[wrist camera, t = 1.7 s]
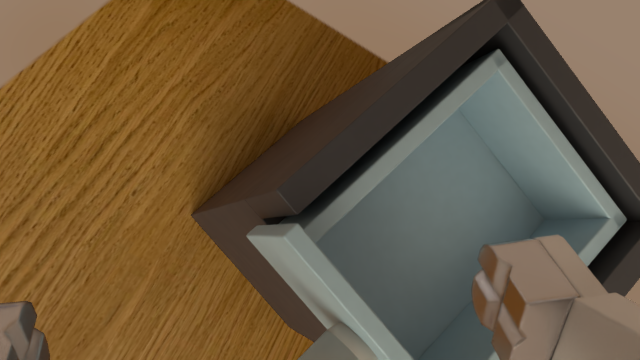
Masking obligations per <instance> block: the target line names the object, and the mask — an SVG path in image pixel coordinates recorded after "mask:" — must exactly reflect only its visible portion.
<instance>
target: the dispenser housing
mask: <svg viewBox="0 0 640 360" xmlns="http://www.w3.org/2000/svg"><path fill="white" fill-rule="evenodd" d="M496 49H500V51H501V52H502V53H503V55H504V56H505V57H506V59H507V60H508V61H509V63H510V64H511V65H512V67H513V68H514V69H515V71H516V72H517V73H518V75H519V76H520V77H521V79H522V80H523V81H524V83H525V84H526V85H527V87H528V88H529V89H530V91H531V92H532V93H533V95H534V96H535V97H536V99H537V100H538V101H539V103H540V104H541V105H542V107H543V108H544V109H545V111H546V112H547V113H548V115H549V116H550V117H551V119H552V120H553V121H554V123H555V124H556V125H557V127H558V128H559V129H560V131H561V132H562V133H563V135H564V136H565V137H566V139H567V140H568V141H569V143H570V144H571V145H572V147H573V148H574V149H575V151H576V152H577V153H578V155H579V156H580V157H581V159H582V160H583V161H584V163H585V164H586V165H587V167H588V168H589V169H590V171H591V172H592V173H593V175H594V176H595V177H596V179H597V180H598V181H599V183H600V184H601V185H602V186H603V188H604V189H605V190H606V192H607V193H608V194H609V196H610V197H611V198H612V200H613V201H614V202H615V204H616V205H617V206H618V208H619V209H620V210H621V212H622V213H623V214H624V216H625V217H626V219H627V220H626V222H625V223H624V224H623V225H622V226H621V228H620V229H619V230H618V231H617V232H616V233H615V235H614V236H613V237H612V238H611V239H610V241H609V242H608V243H607V244H606V245H605V246H604V248H603V249H602V250H601V251H600V252H599V253H598V255H597V256H596V257H595V258H594V259H593V261H592V262H591V263H590V264H589V265H588V266H587V267H588V269H589V270H590V271H591V272H592V274H593V275H594V276H595V277H596V278H597V280H598V281H599V282H600V283H601V285H602V286H603V287H604V288H605V290H606V291H607V292H608V293H618V294H620V295H622V296H623V297H625V296H626V294H627V293H628V292H629V291H630V289H631V288H632V287H633V286H634V285H635V283H636V282H637V281H638V280H639V278H640V163H639V161H638V160H637V159H636V157H635V156H634V154H633V153H632V152H631V151H630V149H629V148H628V146H627V145H626V144H625V142H624V141H623V139H622V138H621V137H620V136H619V134H618V133H617V131H616V130H615V129H614V127H613V126H612V124H611V123H610V122H609V120H608V119H607V118H606V116H605V115H604V114H603V112H602V111H601V109H600V108H599V107H598V106H597V104H596V103H595V101H594V100H593V99H592V97H591V96H590V94H589V93H588V92H587V90H586V89H585V88H584V86H583V85H582V84H581V82H580V81H579V80H578V78H577V77H576V75H575V74H574V73H573V72H572V70H571V69H570V67H569V66H568V65H567V63H566V62H565V61H564V59H563V58H562V56H561V55H560V54H559V52H558V51H557V50H556V48H555V47H554V45H553V44H552V43H551V41H550V40H549V39H548V37H547V36H546V35H545V33H544V32H543V30H542V29H541V28H540V26H539V25H538V24H537V22H536V21H535V20H534V18H533V17H532V16H531V14H530V13H529V12H528V10H527V9H526V8H525V6H524V4H523V3H522V2H521V0H483V1H482V2H480V3H479V4H477V5H476V6H474V7H473V8H471V9H470V10H468V11H467V12H465V13H464V14H462V15H461V16H459V17H458V18H456V19H455V20H453V21H451V22H450V23H449V24H447V25H445V26H444V27H442V28H441V29H440V30H438V31H437V32H435V33H433V34H432V35H430V36H429V37H427V38H426V39H424V40H423V41H421V42H420V43H418V44H417V45H415V46H414V47H412V48H411V49H409V50H408V51H406V52H405V53H403V54H401V55H400V56H398V57H397V58H395V59H394V60H392V61H391V62H389V63H388V64H386V65H385V66H383V67H382V68H380V69H379V70H377V71H376V72H374V73H373V74H371V75H370V76H368V77H367V78H365V79H364V80H362V81H361V82H359V83H358V84H356V85H354V86H353V87H351V88H350V89H348V90H347V91H345V92H344V93H342V94H341V95H339V96H338V97H336V98H335V99H333V100H332V101H330V102H329V103H327V104H326V105H324V106H323V107H321V108H320V109H318V110H317V111H315V112H314V113H312V114H311V115H309V116H308V117H306V118H304V119H303V120H302V121H300V122H299V123H298V124H297V125H296V126H294V127H293V128H292V129H291V130H290V131H289V132H287V133H286V134H285V135H284V136H283V137H282V138H280V139H279V140H278V141H277V142H276V143H275V144H273V145H272V146H271V147H270V148H269V149H268V150H266V151H265V152H264V153H263V154H262V155H261V156H259V157H258V158H257V159H256V160H255V161H253V162H252V163H251V164H250V165H249V166H248V167H246V168H245V169H244V170H243V171H242V172H241V173H239V174H238V175H237V176H236V177H235V178H234V179H232V180H231V181H230V182H229V183H228V184H227V185H225V186H224V187H223V188H222V189H221V190H220V191H218V192H217V193H216V194H215V195H214V196H212V197H211V198H210V199H209V200H208V201H207V202H205V203H204V204H203V205H202V206H201V207H200V208H198V209H197V210H196V211H195V212H194V213H193V214H191V216H192V217H193V218H194V220H195V221H196V222H197V223H198V224H199V225H200V226H201V227H202V229H203V230H204V231H205V232H206V233H207V234H208V235H209V237H210V238H211V239H212V240H213V241H214V242H215V243H216V244H217V246H218V247H219V248H220V249H221V250H222V251H223V252H224V254H225V255H226V256H227V257H228V258H229V259H230V260H231V261H232V263H233V264H234V265H235V266H236V267H237V268H238V269H239V271H240V272H241V273H242V274H243V275H244V276H245V277H246V278H247V280H248V281H249V282H250V283H251V284H252V285H253V286H254V288H255V289H256V290H257V291H258V292H259V293H260V294H261V295H262V297H263V298H264V299H265V300H266V301H267V302H268V303H269V305H270V306H271V307H272V308H273V309H274V310H275V311H276V312H277V314H278V315H279V316H280V317H281V318H282V319H283V320H284V322H285V323H286V324H287V325H288V326H289V327H290V328H292V329H293V330H295V331H297V332H298V333H300V334H302V335H303V336H305V337H307V338H308V339H310V340H312V341H313V342H315V341H316V340H317V339H318V338H319V337H320V336H321V335H322V334H323V333H324V332H325V331H326V330H327V329H326V327H325V326H324V325H323V324H322V323H321V322H320V321H319V319H318V318H317V317H316V316H315V315H314V314H313V313H312V311H311V310H310V309H309V308H308V307H307V306H306V304H305V303H304V302H303V301H302V300H301V299H300V298H299V296H298V295H297V294H296V293H295V292H294V291H293V290H292V288H291V287H290V286H289V285H288V284H287V283H286V282H285V280H284V279H283V278H282V277H281V276H280V275H279V273H278V272H277V271H276V270H275V269H274V268H273V267H272V265H271V264H270V263H269V262H268V261H267V260H266V259H265V257H264V256H263V255H262V254H261V253H260V252H259V250H258V249H257V248H256V247H255V246H254V245H253V244H252V242H251V241H250V240H249V239H248V238H247V236H246V235H247V234H248V233H249V232H250V231H251V230H252V229H253V228H255V227H256V226H258V225H275V224H279V223H280V222H281V221H282V220H283V219H285V218H286V217H287V216H292V215H298V214H299V213H300V212H302V211H303V210H304V209H305V208H306V207H307V206H308V205H309V204H310V203H311V202H312V201H314V200H315V199H316V198H317V197H318V196H319V195H320V194H321V193H322V192H323V191H324V190H326V189H327V188H328V187H329V186H330V185H331V184H332V183H333V182H334V181H335V180H336V179H338V178H339V177H340V176H341V175H342V174H343V173H344V172H345V171H346V170H347V169H349V168H350V167H351V166H352V165H353V164H354V163H355V162H356V161H357V160H358V159H359V158H361V157H362V156H363V155H364V154H365V153H366V152H367V151H368V150H369V149H370V148H371V147H373V146H374V145H375V144H376V143H377V142H378V141H379V140H380V139H381V138H382V137H383V136H385V135H386V134H387V133H388V132H389V131H390V130H391V129H392V128H393V127H394V126H396V125H397V124H398V123H399V122H400V121H401V120H402V119H403V118H404V117H405V116H406V115H408V114H409V113H410V112H411V111H412V110H413V109H414V108H415V107H416V106H417V105H418V104H420V103H421V102H422V101H423V100H424V99H425V98H426V97H427V96H428V95H429V94H431V93H432V92H433V91H434V90H435V89H436V88H437V87H438V86H439V85H440V84H441V83H443V82H444V81H445V80H446V79H447V78H448V77H449V76H450V75H451V74H452V73H453V72H455V71H456V70H457V69H458V68H460V67H462V66H464V65H466V64H468V63H470V62H472V61H474V60H476V59H478V58H480V57H482V56H484V55H486V54H488V53H490V52H492V51H494V50H496Z"/></svg>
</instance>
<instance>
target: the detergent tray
mask: <svg viewBox="0 0 640 360" xmlns="http://www.w3.org/2000/svg"><path fill="white" fill-rule="evenodd" d="M626 220H627V219H626V217H625V216H624V214H623V213H622V212H621V210H620V209H619V208H618V206H617V205H616V204H615V202H614V201H613V200H612V198H611V197H610V196H609V194H608V193H607V192H606V190H605V189H604V188H603V186H602V185H601V184H600V183H599V181H598V180H597V179H596V177H595V176H594V175H593V173H592V172H591V171H590V169H589V168H588V167H587V165H586V164H585V163H584V161H583V160H582V159H581V157H580V156H579V155H578V153H577V152H576V151H575V149H574V148H573V147H572V145H571V144H570V143H569V141H568V140H567V139H566V137H565V136H564V135H563V133H562V132H561V131H560V129H559V128H558V127H557V125H556V124H555V123H554V121H553V120H552V119H551V117H550V116H549V115H548V113H547V112H546V111H545V109H544V108H543V107H542V105H541V104H540V103H539V101H538V100H537V99H536V97H535V96H534V95H533V93H532V92H531V91H530V89H529V88H528V87H527V85H526V84H525V83H524V81H523V80H522V79H521V77H520V76H519V75H518V73H517V72H516V71H515V69H514V68H513V67H512V65H511V64H510V63H509V61H508V60H507V59H506V57H505V56H504V55H503V53H502V52H501V51H500V49H496V50H494V51H492V52H490V53H488V54H486V55H484V56H482V57H480V58H478V59H476V60H474V61H472V62H470V63H468V64H466V65H464V66H462V67H460V68H458V69H457V70H456V71H455V72H453V73H452V74H451V75H450V76H449V77H448V78H447V79H446V80H445V81H444V82H443V83H441V84H440V85H439V86H438V87H437V88H436V89H435V90H434V91H433V92H432V93H431V94H429V95H428V96H427V97H426V98H425V99H424V100H423V101H422V102H421V103H420V104H418V105H417V106H416V107H415V108H414V109H413V110H412V111H411V112H410V113H409V114H408V115H406V116H405V117H404V118H403V119H402V120H401V121H400V122H399V123H398V124H397V125H396V126H394V127H393V128H392V129H391V130H390V131H389V132H388V133H387V134H386V135H385V136H383V137H382V138H381V139H380V140H379V141H378V142H377V143H376V144H375V145H374V146H373V147H371V148H370V149H369V150H368V151H367V152H366V153H365V154H364V155H363V156H362V157H361V158H359V159H358V160H357V161H356V162H355V163H354V164H353V165H352V166H351V167H350V168H349V169H347V170H346V171H345V172H344V173H343V174H342V175H341V176H340V177H339V178H338V179H336V180H335V181H334V182H333V183H332V184H331V185H330V186H329V187H328V188H327V189H326V190H324V191H323V192H322V193H321V194H320V195H319V196H318V197H317V198H316V199H315V200H314V201H312V202H311V203H310V204H309V205H308V206H307V207H306V208H305V209H304V210H303V211H302V212H300V213H299V214H298V215H292V216H287V217H286V218H285V219H283V220H282V221H281V222H280V223H279V224H275V225H258V226H256V227H255V228H253V229H252V230H251V231H250V232H249V233H248V234H247V235H246V236H247V238H248V239H249V240H250V241H251V242H252V244H253V245H254V246H255V247H256V248H257V249H258V250H259V252H260V253H261V254H262V255H263V256H264V257H265V259H266V260H267V261H268V262H269V263H270V264H271V265H272V267H273V268H274V269H275V270H276V271H277V272H278V273H279V275H280V276H281V277H282V278H283V279H284V280H285V282H286V283H287V284H288V285H289V286H290V287H291V288H292V290H293V291H294V292H295V293H296V294H297V295H298V296H299V298H300V299H301V300H302V301H303V302H304V303H305V304H306V306H307V307H308V308H309V309H310V310H311V311H312V313H313V314H314V315H315V316H316V317H317V318H318V319H319V321H320V322H321V323H322V324H323V325H324V326H325V327H326V329H327V330H326V331H325V332H324V333H323V334H322V335H321V336H320V337H319V338H318V339H317V340H316V341H315V342H314V343H313V344H312V345H311V346H310V347H309V349H308V350H307V351H306V352H305V353H304V354H303V355H302V356H301V357H300V358H299V359H298V360H500V359H499V357H498V355H497V353H496V351H495V349H494V348H493V346H492V344H491V341H492V337H493V333H494V332H492V331H491V330H489V329H488V328H486V327H485V326H483V325H481V323H480V321H479V319H478V317H477V315H476V313H475V310H474V306H473V303H472V293H471V288H472V282H473V277H474V276H475V275H476V274H477V273H478V272H479V271H480V270H481V269H482V267H481V265H480V264H479V262H478V260H477V259H478V255H479V251H480V249H481V248H482V246H483V245H484V244H491V243H498V242H506V241H513V240H521V239H528V238H530V239H532V238H535V237H542V236H550V235H557V234H558V235H559V236H561V237H563V238H564V239H565V240H566V241H567V243H568V244H569V245H570V246H571V248H572V249H573V250H574V251H575V252H576V254H577V255H578V256H579V257H580V259H581V260H582V261H583V262H584V264H585V265H586V266H588V265H589V264H590V263H591V262H592V261H593V259H594V258H595V257H596V256H597V255H598V253H599V252H600V251H601V250H602V249H603V248H604V246H605V245H606V244H607V243H608V242H609V241H610V239H611V238H612V237H613V236H614V235H615V233H616V232H617V231H618V230H619V229H620V228H621V226H622V225H623V224H624V223H625V222H626Z"/></svg>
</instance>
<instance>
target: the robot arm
mask: <svg viewBox="0 0 640 360" xmlns="http://www.w3.org/2000/svg"><path fill="white" fill-rule="evenodd" d="M477 260H478V262H479V264H480V265H481V267H482V269H481V270H480V271H479V272H478V273H477V274H476V275H475V276H474V277H473V282H472V288H471V293H472V303H473V306H474V310H475V313H476V315H477V317H478V319H479V321H480V323H481V325H483V326H485V327H486V328H488V329H489V330H491V331H492V332H494V333H493V337H492V341H491V344H492V346H493V348H494V349H495V351H496V353H497V355H498V357H499V359H500V360H640V305H639V304H637V303H635V302H633V301H631V300H629V299H627V298H625V297H623V296H622V295H620V294H618V293H608V292H607V291H606V290H605V288H604V287H603V286H602V285H601V283H600V282H599V281H598V280H597V278H596V277H595V276H594V275H593V274H592V272H591V271H590V270H589V269H588V267H587V266H586V265H585V264H584V262H583V261H582V260H581V259H580V257H579V256H578V255H577V254H576V252H575V251H574V250H573V249H572V248H571V246H570V245H569V244H568V243H567V241H566V240H565V239H564V238H563V237H561V236H559V235H558V234H557V235H550V236H542V237H535V238H532V239H530V238H528V239H521V240H513V241H506V242H498V243H491V244H484V245H483V246H482V248H481V249H480V251H479V255H478V259H477ZM36 318H37V314H36V312H35V310H34V307H33V305H32V303H31V302H28V301H20V302H10V303H0V360H50V353H49V348H48V343H47V340H46V337H45V335H44V333H43V332H41V331H39V330H38V329H36V328H34V326H35V322H36Z"/></svg>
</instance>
